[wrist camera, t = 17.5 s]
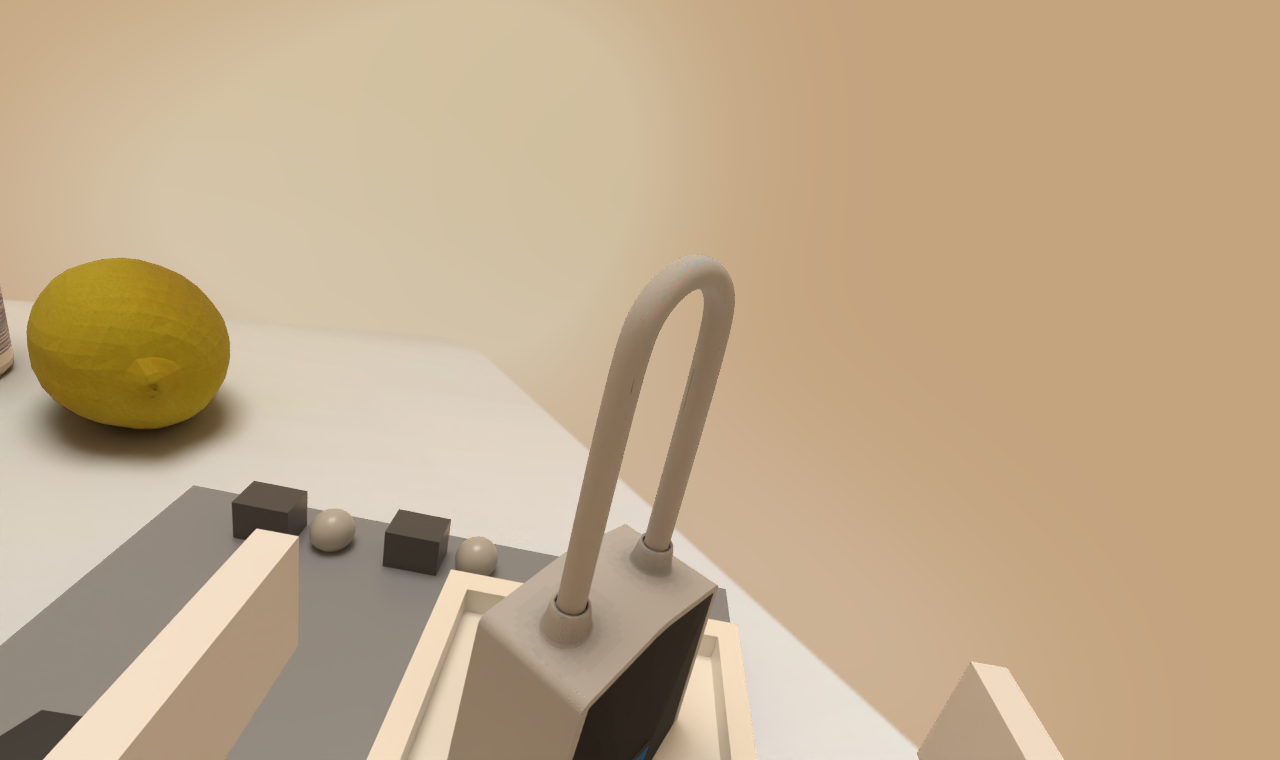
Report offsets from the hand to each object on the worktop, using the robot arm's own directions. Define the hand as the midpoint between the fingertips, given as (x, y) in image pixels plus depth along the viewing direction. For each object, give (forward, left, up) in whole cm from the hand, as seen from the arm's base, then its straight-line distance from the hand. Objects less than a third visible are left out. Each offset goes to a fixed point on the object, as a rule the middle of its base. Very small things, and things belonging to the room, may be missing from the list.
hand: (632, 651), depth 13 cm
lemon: (-25, +20, -11) cm, 33 cm away
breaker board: (-6, +5, -11) cm, 13 cm away
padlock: (0, +3, -8) cm, 9 cm away
